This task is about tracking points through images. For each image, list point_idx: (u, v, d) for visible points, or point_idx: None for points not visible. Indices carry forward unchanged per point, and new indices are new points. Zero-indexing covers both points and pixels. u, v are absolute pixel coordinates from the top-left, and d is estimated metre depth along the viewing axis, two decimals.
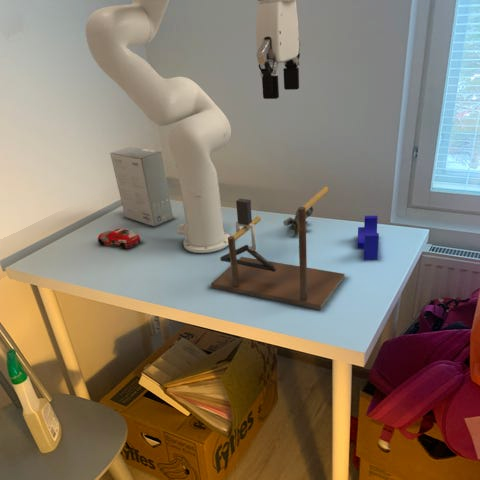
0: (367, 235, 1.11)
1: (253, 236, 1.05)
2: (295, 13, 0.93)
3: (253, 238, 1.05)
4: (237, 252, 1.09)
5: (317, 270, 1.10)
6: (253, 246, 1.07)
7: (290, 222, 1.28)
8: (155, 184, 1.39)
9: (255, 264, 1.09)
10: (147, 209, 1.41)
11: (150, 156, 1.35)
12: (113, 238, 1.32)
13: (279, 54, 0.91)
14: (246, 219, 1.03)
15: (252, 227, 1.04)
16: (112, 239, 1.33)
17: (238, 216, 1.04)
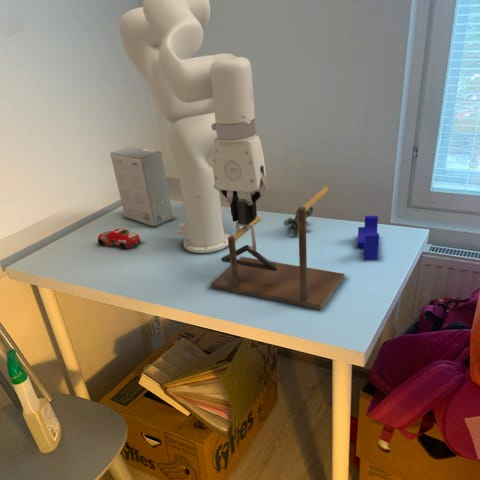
0: (367, 235, 1.11)
1: (253, 236, 1.05)
2: None
3: (253, 238, 1.05)
4: (238, 252, 1.09)
5: (317, 270, 1.10)
6: (253, 246, 1.06)
7: (290, 222, 1.28)
8: (155, 184, 1.39)
9: (256, 264, 1.09)
10: (147, 209, 1.41)
11: (150, 156, 1.35)
12: (113, 238, 1.32)
13: None
14: None
15: (252, 227, 1.04)
16: (112, 239, 1.33)
17: (238, 216, 1.04)
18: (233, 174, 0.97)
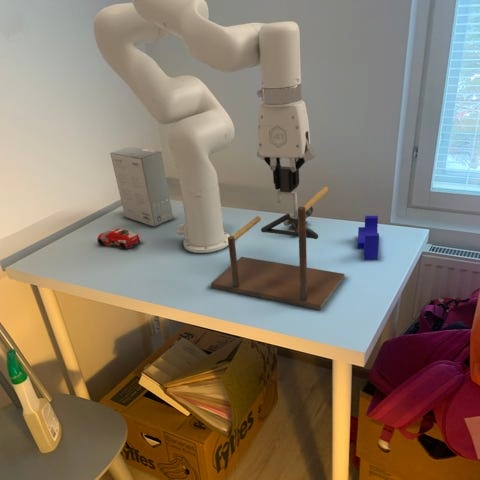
0: (367, 235, 1.11)
1: (295, 204, 1.06)
2: None
3: (295, 206, 1.07)
4: (278, 221, 1.10)
5: (317, 270, 1.10)
6: (295, 214, 1.08)
7: (290, 222, 1.28)
8: (155, 184, 1.39)
9: (297, 233, 1.10)
10: (147, 209, 1.41)
11: (150, 156, 1.35)
12: (113, 238, 1.32)
13: None
14: (288, 186, 1.04)
15: (294, 194, 1.05)
16: (112, 239, 1.33)
17: (280, 184, 1.05)
18: (278, 140, 0.98)
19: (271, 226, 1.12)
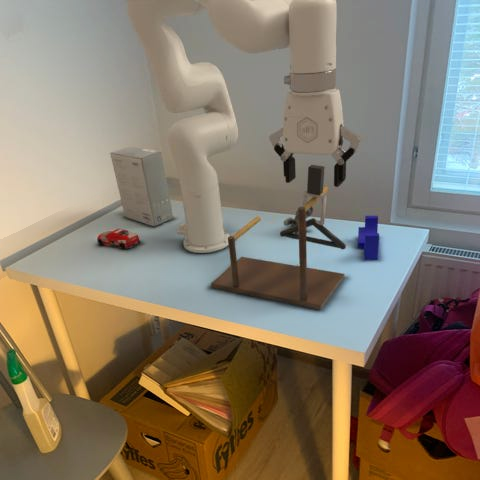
0: (367, 235, 1.11)
1: (323, 208, 0.94)
2: None
3: (323, 211, 0.94)
4: None
5: (317, 270, 1.10)
6: (322, 220, 0.95)
7: (290, 222, 1.28)
8: (155, 184, 1.39)
9: (321, 240, 0.97)
10: (147, 209, 1.41)
11: (150, 156, 1.35)
12: (112, 238, 1.32)
13: None
14: (318, 188, 0.91)
15: (323, 198, 0.92)
16: (111, 239, 1.32)
17: (308, 185, 0.92)
18: (308, 134, 0.85)
19: (292, 230, 0.99)
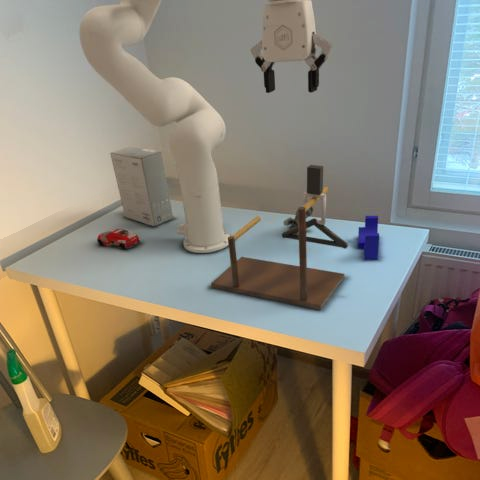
0: (367, 235, 1.11)
1: (324, 208, 0.93)
2: None
3: (323, 210, 0.94)
4: None
5: (317, 270, 1.10)
6: (323, 219, 0.95)
7: (290, 222, 1.28)
8: (155, 184, 1.39)
9: (323, 240, 0.97)
10: (147, 209, 1.41)
11: (150, 156, 1.35)
12: (112, 238, 1.32)
13: None
14: (317, 188, 0.91)
15: (323, 197, 0.92)
16: (111, 239, 1.32)
17: (308, 185, 0.92)
18: (284, 41, 0.95)
19: (294, 231, 0.99)
